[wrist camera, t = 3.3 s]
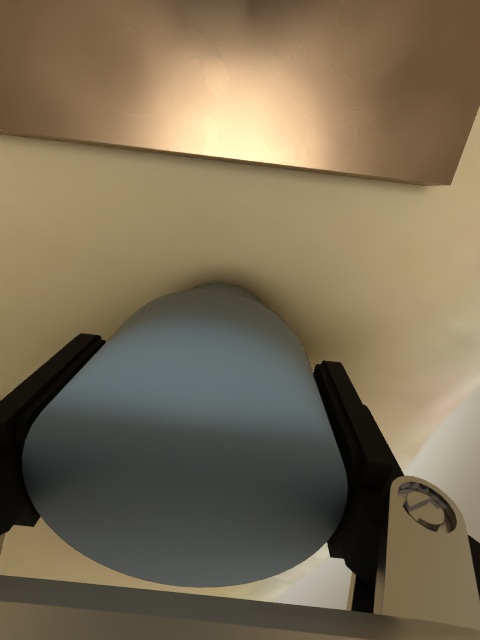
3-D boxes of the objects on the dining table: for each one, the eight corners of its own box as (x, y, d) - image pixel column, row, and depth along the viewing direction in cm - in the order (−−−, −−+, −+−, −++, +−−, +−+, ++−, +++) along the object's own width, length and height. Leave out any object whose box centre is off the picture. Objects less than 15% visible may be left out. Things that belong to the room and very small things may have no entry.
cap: (280, 399, 15) (310, 598, 8) (147, 385, 15) (49, 573, 8) (307, 269, 12) (393, 387, 5) (143, 250, 12) (-15, 343, 5)
